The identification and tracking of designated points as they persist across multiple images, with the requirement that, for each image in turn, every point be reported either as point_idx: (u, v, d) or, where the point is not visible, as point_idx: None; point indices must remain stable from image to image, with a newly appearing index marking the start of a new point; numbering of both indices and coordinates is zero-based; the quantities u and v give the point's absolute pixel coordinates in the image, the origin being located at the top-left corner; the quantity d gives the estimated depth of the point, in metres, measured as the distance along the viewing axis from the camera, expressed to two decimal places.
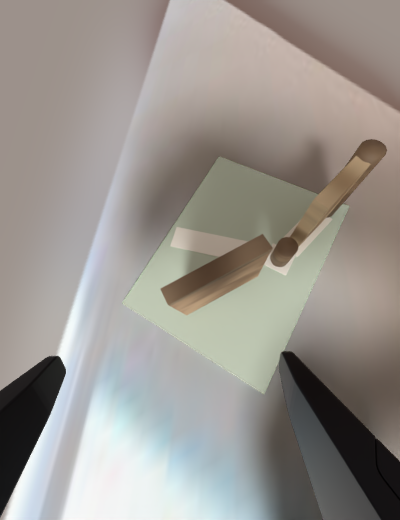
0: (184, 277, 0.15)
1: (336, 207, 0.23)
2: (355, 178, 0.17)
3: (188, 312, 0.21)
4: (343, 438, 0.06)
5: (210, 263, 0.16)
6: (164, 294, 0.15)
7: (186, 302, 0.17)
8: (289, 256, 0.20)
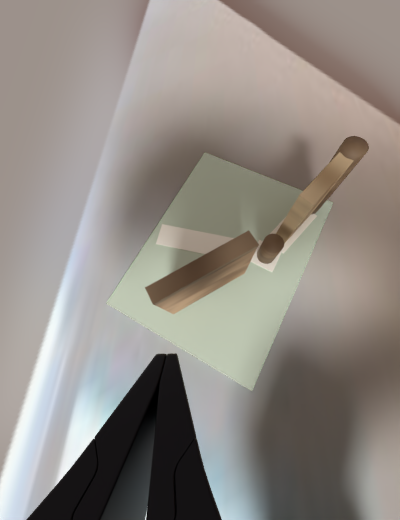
0: (169, 275, 0.15)
1: (320, 204, 0.23)
2: (339, 174, 0.17)
3: (175, 311, 0.21)
4: (164, 438, 0.06)
5: (196, 260, 0.15)
6: (149, 293, 0.15)
7: (172, 301, 0.17)
8: (275, 252, 0.20)
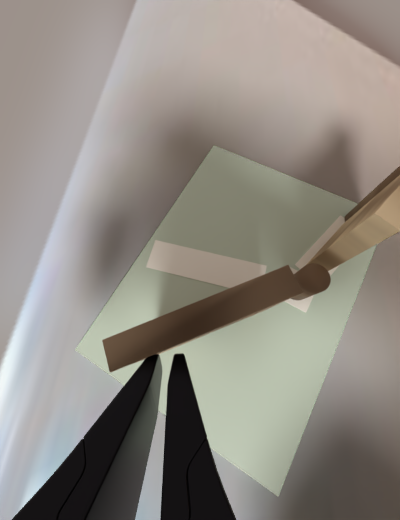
0: (146, 325, 0.09)
1: None
2: None
3: None
4: (175, 438, 0.06)
5: (193, 305, 0.09)
6: (107, 351, 0.09)
7: None
8: (317, 292, 0.14)
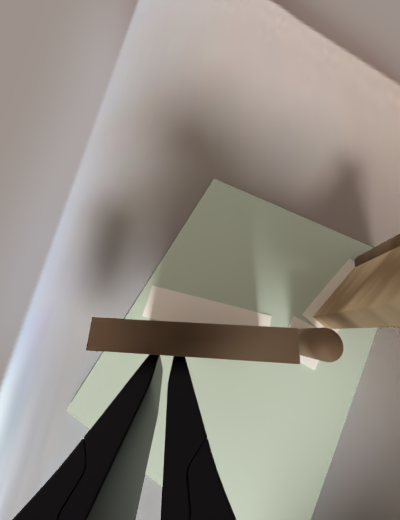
0: (135, 322, 0.09)
1: None
2: None
3: None
4: (175, 438, 0.06)
5: (185, 325, 0.09)
6: (92, 330, 0.09)
7: None
8: None
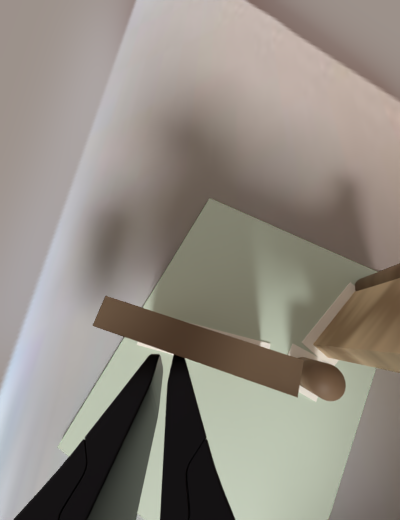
0: (144, 311, 0.09)
1: None
2: None
3: None
4: (174, 438, 0.06)
5: (191, 327, 0.09)
6: (102, 308, 0.09)
7: None
8: None
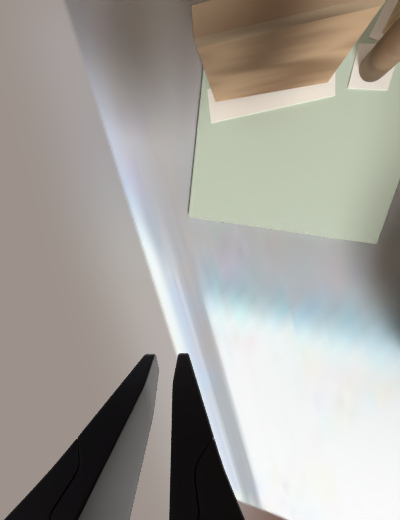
0: None
1: None
2: None
3: (218, 95, 0.17)
4: (181, 438, 0.06)
5: None
6: (194, 18, 0.10)
7: (220, 60, 0.13)
8: None
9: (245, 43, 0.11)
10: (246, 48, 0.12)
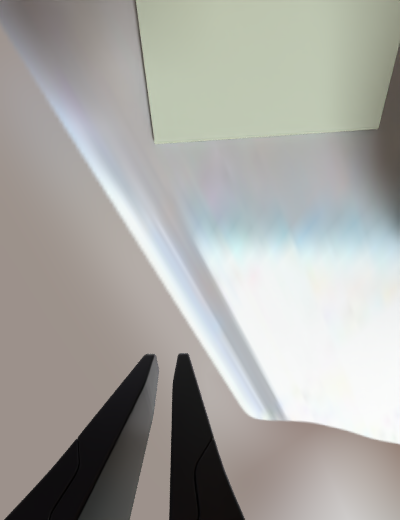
0: None
1: None
2: None
3: None
4: (181, 438, 0.06)
5: None
6: None
7: None
8: None
9: None
10: None
